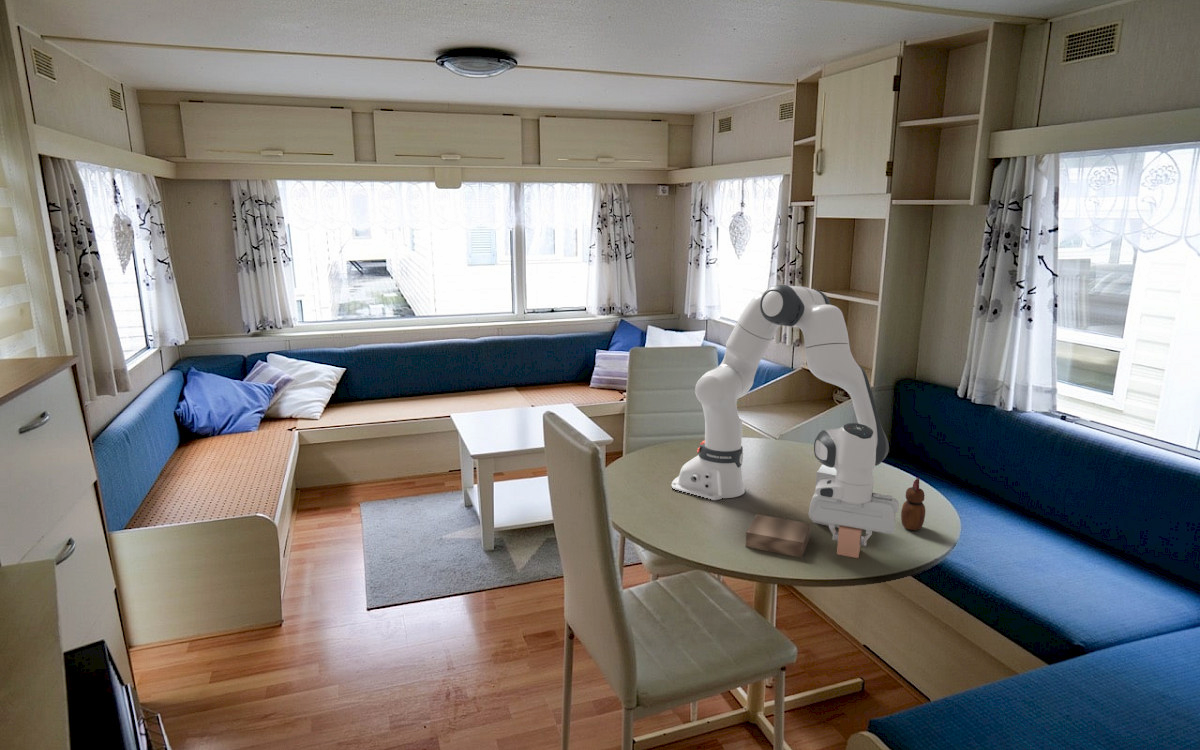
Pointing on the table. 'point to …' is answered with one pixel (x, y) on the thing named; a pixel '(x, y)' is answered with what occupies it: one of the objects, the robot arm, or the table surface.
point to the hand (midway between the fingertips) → (849, 542)
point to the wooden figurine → (913, 508)
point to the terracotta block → (849, 541)
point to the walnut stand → (778, 535)
